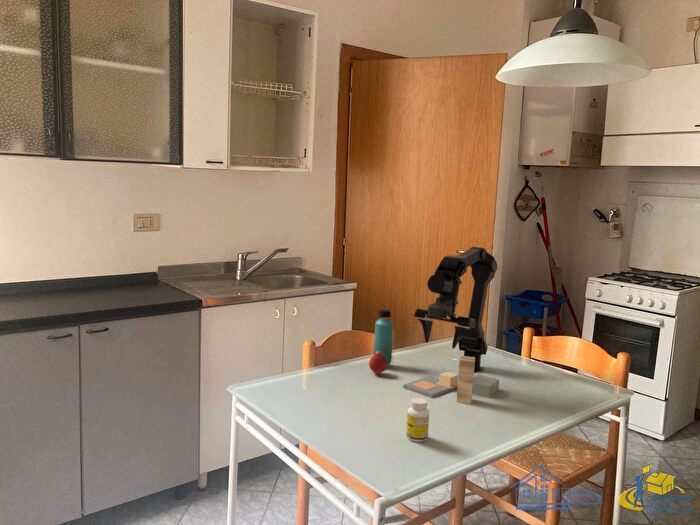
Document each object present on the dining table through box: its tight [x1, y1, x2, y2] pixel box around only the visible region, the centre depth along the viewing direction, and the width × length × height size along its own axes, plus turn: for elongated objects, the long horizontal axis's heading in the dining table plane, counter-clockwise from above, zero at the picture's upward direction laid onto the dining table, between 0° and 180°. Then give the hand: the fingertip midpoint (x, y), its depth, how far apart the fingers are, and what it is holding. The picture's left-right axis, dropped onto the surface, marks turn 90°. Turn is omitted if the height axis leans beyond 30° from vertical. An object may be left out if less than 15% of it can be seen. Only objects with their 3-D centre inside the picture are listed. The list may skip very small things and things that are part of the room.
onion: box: [368, 351, 388, 376], centre depth 193 cm, size 6×6×8 cm
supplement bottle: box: [405, 397, 430, 443], centre depth 146 cm, size 5×5×10 cm
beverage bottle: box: [373, 309, 394, 366], centre depth 202 cm, size 6×7×20 cm
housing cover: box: [472, 373, 500, 398], centre depth 183 cm, size 9×7×4 cm
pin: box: [456, 355, 475, 405], centre depth 173 cm, size 4×4×13 cm
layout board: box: [402, 371, 459, 399], centre depth 184 cm, size 15×12×4 cm
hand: (439, 345), depth 182 cm, fingers open, 9 cm apart
